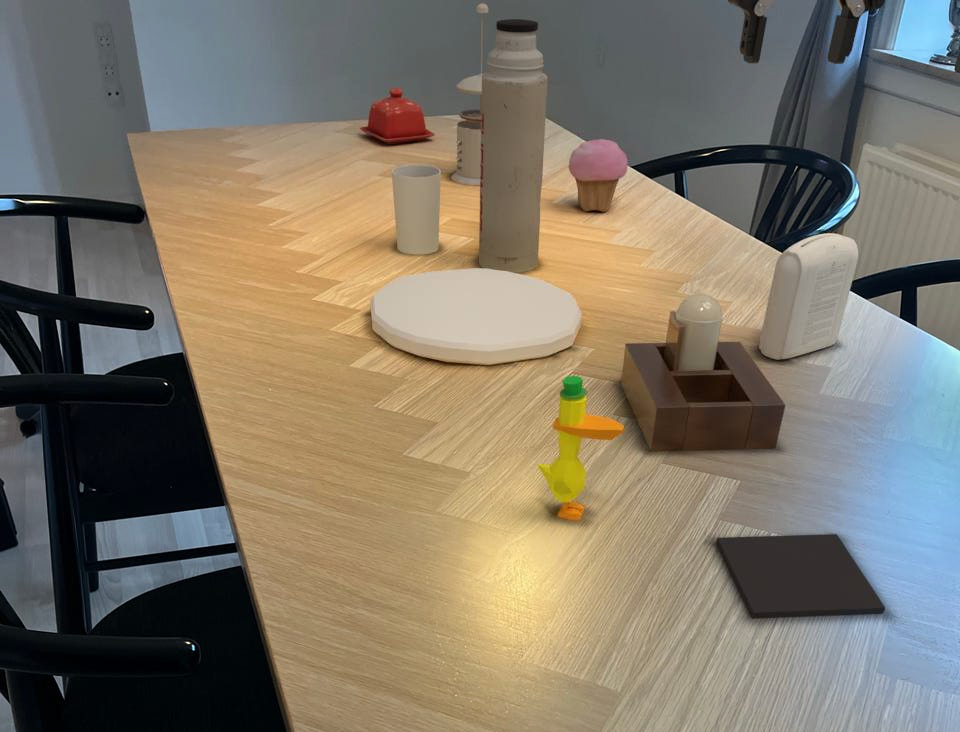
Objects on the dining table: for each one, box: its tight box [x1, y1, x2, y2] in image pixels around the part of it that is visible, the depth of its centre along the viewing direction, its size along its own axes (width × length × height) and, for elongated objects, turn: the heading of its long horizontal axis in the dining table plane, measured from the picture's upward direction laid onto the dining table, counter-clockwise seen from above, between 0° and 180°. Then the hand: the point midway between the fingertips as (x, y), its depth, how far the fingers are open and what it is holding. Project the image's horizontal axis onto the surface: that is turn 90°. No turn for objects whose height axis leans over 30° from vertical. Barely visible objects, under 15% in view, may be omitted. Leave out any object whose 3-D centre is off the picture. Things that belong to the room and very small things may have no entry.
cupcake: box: [568, 138, 628, 213], centre depth 149 cm, size 9×9×10 cm
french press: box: [450, 3, 489, 186], centre depth 159 cm, size 10×12×25 cm
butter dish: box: [359, 87, 436, 145], centre depth 185 cm, size 12×12×8 cm
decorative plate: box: [370, 267, 583, 366], centre depth 114 cm, size 25×4×25 cm
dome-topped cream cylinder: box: [663, 293, 724, 371], centre depth 97 cm, size 5×4×11 cm
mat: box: [715, 533, 886, 619], centre depth 76 cm, size 10×10×1 cm
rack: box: [620, 341, 786, 453], centre depth 96 cm, size 12×15×4 cm
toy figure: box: [536, 375, 625, 521], centre depth 79 cm, size 7×4×12 cm, turn 76°
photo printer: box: [758, 232, 859, 361], centre depth 107 cm, size 10×4×12 cm, turn 125°
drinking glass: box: [391, 164, 442, 255], centre depth 133 cm, size 7×7×10 cm
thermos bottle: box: [478, 18, 549, 274], centre depth 123 cm, size 8×8×28 cm
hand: (793, 62), depth 92 cm, fingers open, 8 cm apart
